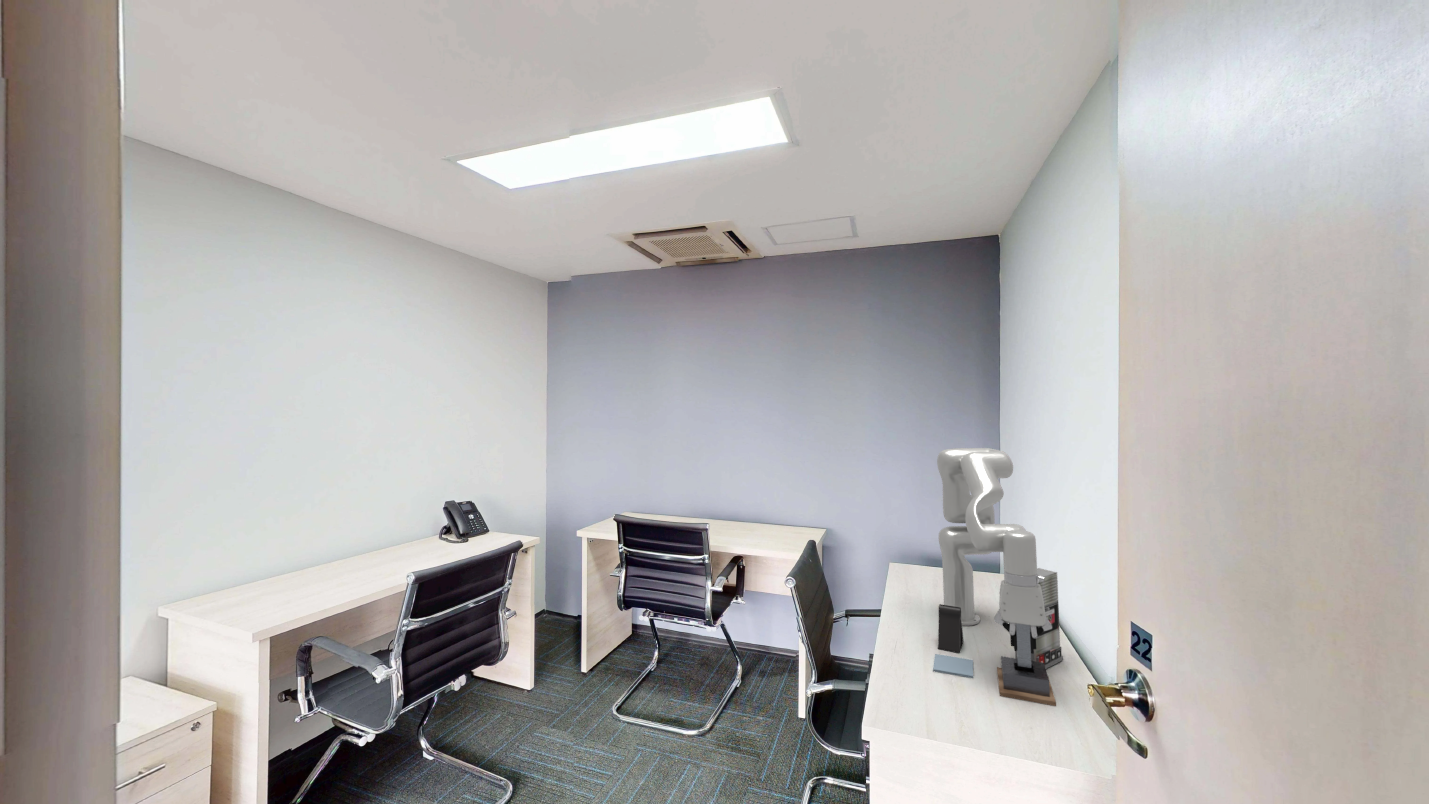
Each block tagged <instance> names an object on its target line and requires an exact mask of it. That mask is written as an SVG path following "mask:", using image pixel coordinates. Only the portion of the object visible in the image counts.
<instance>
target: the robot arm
mask: <svg viewBox="0 0 1429 804" xmlns="http://www.w3.org/2000/svg"><path fill="white" fill-rule="evenodd" d="M936 465H937V470H938V473H939V475H940V478H941V482H942V483H941V484H942V512H943V517H944V520H946V521H947V522H948V523H952V524H965V525H951V526H945V527H943V528H942V529H941V530H940V531H939V532H938V543H939V548H940V553H941V554H940V555H941V564H942V585H943V586H942V587H943V590H942V591H943V605H948V606H954V607H960V608H961V620H962V627H963V626H975V625H978V624H979V623H980V621H981V620H980V619H981V617H980V616H979V615H978V614H976V613H975V591H974V590H975V589H974V569H973V566H972V564H971V563H970V562H969V561H968V560H967V559H966V557H965V556H971V555H972V556H974V555H976V556H978V555H980V556H981V555H983V556H985V555H990V554H992V553H1002V557H1003V577H1004V579H1003V580H1001V581H1000V587H999V599H998V600H999V602H998V604H999V605H998V606H999V609H998V611H997V612H996V614H995V616H994V617H993V621H994V623H996V624H998V625H1000V626H1002V627H1003V628H1004V629H1005V630H1006V631H1007V632H1008V634H1009V635H1010V646H1011V647H1013V650H1014V652H1015V651H1017V635H1016V631H1015V624H1023V625H1030V629H1031V632H1030V644H1031V653H1032V654H1034V649H1036V638H1037V636H1039V635H1040V634H1041V633H1042V632H1044V631H1047V630H1050V629H1052V625H1051V623H1050V622H1049V620H1048V619H1047V617H1046V615H1045V608H1044V600H1043V594H1042V589H1041V586H1040V585H1039V584H1038V583H1039V582H1044V577H1043V576H1039V575H1038V574H1037V568H1038V561H1037V542H1036V541H1037V539H1036V536H1035V535H1034V533H1032V532H1031V531H1028V530H1027V529H1026V528H1024V526H1022V525H1020V524H1015V523H995V509H994V505H996V504H997V503H999V502H1000V501H1001V500H1002V499H1003V497H1004V493H1005V492H1004V490H1003V487H1002V484H1001V483H1000V481H999V479H1009V478H1010V477H1011V476H1012V474H1013V472H1014V465H1013V461H1012V458H1011V457H1010V456H1009V455H1008V453H1006V452H1004V451H1002V450H1001V449H994V448H990V447H974V448H973V447H971V448H970V447H963V448H961V447H958V448H956V447H955V448H947V449H943V450H941V451H940V452H939V453H938V454H937V459H936ZM1036 626H1037V627H1036Z"/></svg>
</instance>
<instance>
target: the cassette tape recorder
mask: <svg viewBox="0 0 1429 804" xmlns="http://www.w3.org/2000/svg"><path fill="white" fill-rule="evenodd" d="M1037 574H1038V575H1039V576H1043V577H1044V582H1039V583H1038V584H1039V585H1040V586H1041V589H1042V594H1043V600H1044V608H1045V615H1046V617H1047V619H1048V620H1049V622H1050V623H1051V625H1052V629H1050V630H1047V631H1044V632H1042V633H1041V634H1040V635H1039V636H1037V638H1036V649H1034V654H1032V653H1031V661H1035V662H1042V663H1044V664H1045V668H1046V669H1048V668H1050V667H1052V666H1054V665H1056V664H1058V663H1060V662H1062V661H1064V656H1063V654H1062V646H1061V637H1060V636H1061V635H1060V612H1059V611H1060V610H1059V608H1060V607H1059V586H1058V585H1059V584H1058V582H1059V581H1058V572H1057V571H1052V570H1047V569H1044V568H1041V567H1037ZM1036 627H1037V626H1036ZM1015 631H1016V624H1015ZM1030 632H1031V629H1030ZM1014 658H1016V659H1017V651H1014Z"/></svg>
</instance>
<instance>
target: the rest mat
mask: <svg viewBox="0 0 1429 804" xmlns="http://www.w3.org/2000/svg"><path fill="white" fill-rule="evenodd" d="M933 659H934V661H933V666H932V667H933V668H932V672H934V671H935V672H934V673H941V674H947V675H952V676H956V677H957V676H958V677H964V678H969V679H974V660H973V659H971V658H965V657H963V658H962V657H957V656H952V655H944V654H941V653H940V654H938V653H934V658H933Z"/></svg>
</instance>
